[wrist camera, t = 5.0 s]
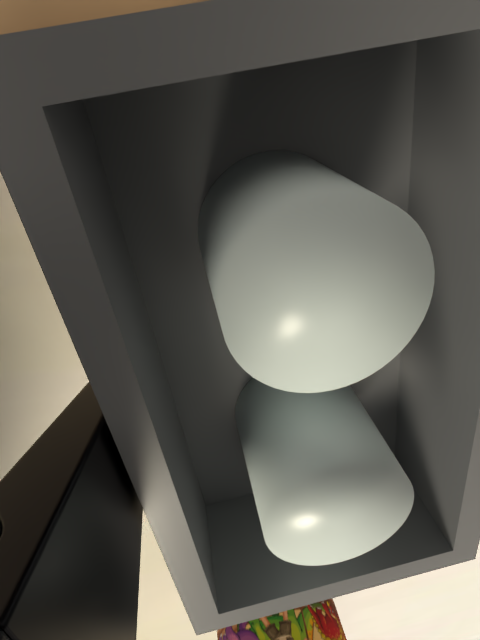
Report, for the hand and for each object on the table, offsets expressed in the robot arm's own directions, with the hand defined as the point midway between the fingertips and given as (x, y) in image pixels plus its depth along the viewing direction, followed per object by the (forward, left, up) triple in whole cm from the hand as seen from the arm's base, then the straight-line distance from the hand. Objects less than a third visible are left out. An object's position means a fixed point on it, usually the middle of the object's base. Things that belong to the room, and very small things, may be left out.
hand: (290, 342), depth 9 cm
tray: (0, 0, -1) cm, 1 cm away
